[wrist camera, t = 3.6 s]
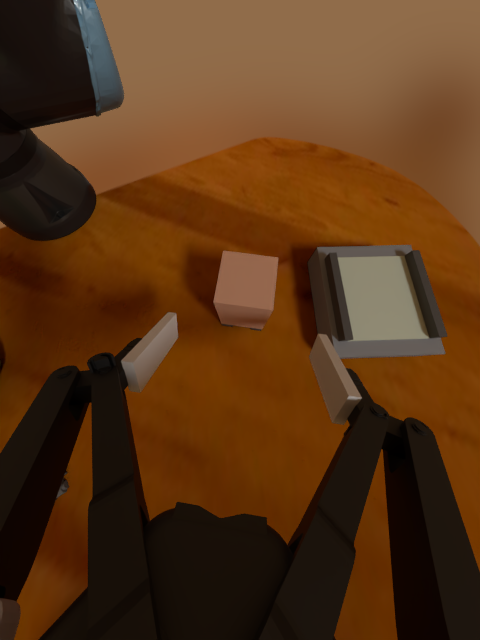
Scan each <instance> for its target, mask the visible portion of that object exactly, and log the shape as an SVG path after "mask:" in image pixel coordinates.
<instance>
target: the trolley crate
mask: <svg viewBox="0 0 480 640" xmlns="http://www.w3.org/2000/svg"><path fill="white" fill-rule="evenodd" d="M277 267H278V258H277V257H269V256H261V255H254V254H246V253H238V252H230V251H223V254H222V260H221V265H220V270H219V275H218V281H217V286H216V291H215V296H214V301H213V303H214V305H215V308H216V310H217V313H218V316H219V318H220V321H221V324H222V325H224V326H231V327H233V325H235V326H242V327H249V328H251V329H252V330H260V331H261V330H262V328H263V327H264V325H265V323H266V322H267V320H268V318H269V316H270V315H271V313H272V311H273V307H274V297H275V287H276V277H277Z"/></svg>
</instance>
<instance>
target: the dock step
mask: <svg viewBox="0 0 480 640" xmlns="http://www.w3.org/2000/svg"><path fill="white" fill-rule="evenodd" d="M307 263H308V270H309V277H310V284H311V291H312V297H313V304H314V311H315V318H316V325H317V332H318V334H325V335H327V336H328V338H329V340H330V342H331V343H332V345H333V347H334V349H335V351H336V352H337V354H338V356H339V358H340V359H342V358H372V357H401V356H423V355H437V354H445V351H444V348H443V344H442V341H441V338H440V337H447V333H446V330H445V327H444V324H443V321H442V318H441V315H440V312H439V309H438V306H437V303H436V300H435V297H434V294H433V291H432V288H431V285H430V282H429V279H428V276H427V273H426V270H425V267H424V264H423V261H422V257H421V254H420V251H419V250H416V251H412V248H411V245H389V246H348V247H317V248H316V250H315V252H314V253H313V255H312V256H311V258H310V259H309V261H308V262H307Z"/></svg>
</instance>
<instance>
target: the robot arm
mask: <svg viewBox="0 0 480 640" xmlns="http://www.w3.org/2000/svg"><path fill="white" fill-rule="evenodd" d="M123 99H124V91H123V86H122V82H121V79H120V76H119V72H118V69H117V66H116V62H115V59H114V56H113V53H112V50H111V47H110V44H109V40H108V37H107V34H106V31H105V28H104V25H103V22H102V19H101V16H100V13H99V10H98V7H97V5H96V2H95V0H0V221H1V222H2V223H3V224H5V225H6V226H7V227H9V228H10V229H12V230H14V231H15V232H17V233H19V234H20V235H22V236H24V237H26V238H29V239H32V240H53V239H57V238H61V237H63V236H66V235H68V234H70V233H72V232H74V231H75V230H77V229H78V228H80V227H81V226H82V225H83V224H84V223H85V222H86V221H87V220H88V219H89V217H90V216H91V214H92V212H93V210H94V208H95V204H96V194H95V191H94V189H93V187H92V185H91V184H90V183H89V182H88V180H87V179H86V178H85V177H84V175H83V174H82V173H81V172H80V171H78V170H77V169H76V168H75V167H74V166H72V165H70V164H68V163H67V162H65V161H64V160H63V159H62V158H61V157H60V156H59V155H58V154H57V153H55V152H54V151H53V150H52V149H51V148H49V147H48V146H47V145H46V144H44V143H43V142H42V141H41V140H40V139H38V138H37V136H36V135H35V134H34V133H33V132H32V131H31V130H30V128H35V127H40V126H44V125H50V124H54V123H60V122H65V121H69V120H74V119H79V118H84V117H89V116H94V115H96V116H99V115H101V113H103V112H106V111H110V110H113V109H116V108H118V107H120V106H121V104H122V102H123ZM177 338H178V328H177V315H176V313H171V312H168V313H167V314H166V315H165V316H164V317H163V318H162V319H161V320H160V321H159V322H158V323H157V324H156V325H155V326H154V327H153V328H152V329H151V330H150V331H149V332H148V333H147V335H146V336H145V337H144V338H143V339H142V338H136V339H135V340H133V341H131V342H130V343H129V344H128V345H127V346H126V347H125V348H124V349H123V350H122V351H121V352H120V353H118V354H117V355H116V356H115V357H114V356H113V354H111V353H100V354H97V355H95V356H93V357H91V358H90V359H89V360H88V362H87V365H88V367H89V369H90V370H88V371H79V370H78V368H77V367H76V366H65V367H62V368H59V369H57V370H56V371H54V372H53V373H52V374H51V375H50V376H49V378H48V379H47V381H46V382H45V384H44V385H43V387H42V389H41V390H40V392H39V393H38V395H37V397H36V398H35V400H34V401H33V403H32V404H31V406H30V408H29V409H28V411H27V412H26V414H25V416H24V417H23V419H22V420H21V422H20V423H19V425H18V427H17V428H16V430H15V431H14V433H13V434H12V436H11V438H10V439H9V441H8V442H7V444H6V446H5V447H4V449H3V450H2V452H1V453H0V640H13V639H14V637H15V634H16V630H17V627H18V624H19V619H20V614H21V613H20V606H19V604H18V603H17V599H18V597H19V595H20V592H21V590H22V588H23V586H24V584H25V582H26V580H27V577H28V575H29V573H30V570H31V568H32V565H33V563H34V560H35V557H36V555H37V552H38V549H39V547H40V544H41V541H42V538H43V535H44V532H45V529H46V526H47V523H48V521H49V518H50V515H51V512H52V509H53V506H54V503H55V500H56V497H57V495H58V492H59V489H60V486H61V483H62V480H63V477H64V474H65V471H66V469H67V466H68V463H69V460H70V457H71V454H72V451H73V448H74V446H75V443H76V440H77V437H78V434H79V431H80V428H81V425H82V422H83V420H84V417H85V414H86V411H87V408H88V405H89V403H90V402H92V469H93V497H92V500H91V501H90V503H89V508H88V587H87V588H86V589H85V590H84V592H83V593H82V594H81V595H80V596H79V597H78V598H77V599H76V600H75V601H74V602H73V603H72V604H71V605H70V607H69V608H68V609H67V610H66V611H65V612H64V613H63V614H62V615H61V616H60V617H59V618H58V619H57V620H56V621H55V623H54V624H53V625H52V626H51V627H50V628H49V629H48V630H47V631H46V632H45V633H44V634H43V635H42V636H41V637H40V639H39V640H336V639H335V637H334V633H335V630H336V626H337V622H338V619H339V615H340V611H341V608H342V604H343V601H344V597H345V593H346V590H347V586H348V582H349V579H350V575H351V571H352V568H353V564H354V560H355V553H356V550H355V548H354V540H355V536H356V533H357V530H358V526H359V523H360V519H361V516H362V513H363V509H364V506H365V502H366V499H367V496H368V492H369V489H370V485H371V482H372V479H373V475H374V472H375V468H376V465H377V462H378V458H379V455H380V452H381V449H383V457H384V471H385V484H386V498H387V511H388V524H389V538H390V551H391V565H392V578H393V592H394V605H395V619H396V628H397V637H398V640H480V572H479V569H478V566H477V563H476V560H475V557H474V554H473V551H472V548H471V545H470V542H469V539H468V536H467V533H466V530H465V527H464V524H463V521H462V517H461V514H460V511H459V508H458V505H457V502H456V499H455V496H454V493H453V490H452V487H451V484H450V481H449V478H448V475H447V472H446V469H445V466H444V463H443V460H442V457H441V454H440V451H439V448H438V445H437V442H436V439H435V436H434V434H433V432H432V431H431V430H430V429H429V427H428V426H426V425H425V424H424V423H422V422H421V421H419V420H417V419H414V418H406V419H405V420H404V421H401V420H399V419H396V418H394V417H391V416H389V414H388V412H387V411H386V410H385V409H384V408H382V407H381V406H380V405H378V404H376V403H374V402H373V400H372V399H371V397H370V395H369V394H368V392H367V390H366V389H365V387H364V386H363V384H362V382H361V381H360V379H359V377H358V376H357V374H356V373H355V372H354V371H353V370H351V369H348V368H345V367H344V365H343V363H342V361H341V360H340V358H339V356H338V354H337V352H336V351H335V349H334V347H333V345H332V343H331V342H330V340H329V338H328V336H327V335H325V334H318V335H317V338H316V340H315V343H314V345H313V348H312V350H311V353H310V355H309V358H310V361H311V364H312V366H313V369H314V372H315V375H316V378H317V381H318V384H319V387H320V389H321V392H322V395H323V398H324V401H325V404H326V407H327V410H328V412H329V415H330V418H331V421H332V423H337V424H343V425H344V423H345V422H346V420H347V419H348V422H349V424H350V426H349V427H348V429H347V430H346V431H345V433H344V437H343V439H342V441H341V443H340V445H339V447H338V449H337V451H336V453H335V455H334V457H333V459H332V461H331V463H330V465H329V467H328V469H327V471H326V473H325V475H324V477H323V479H322V481H321V482H320V484H319V486H318V488H317V490H316V492H315V494H314V496H313V498H312V500H311V502H310V504H309V506H308V508H307V510H306V512H305V514H304V516H303V518H302V520H301V522H300V524H299V526H298V528H297V529H296V531H295V532H294V534H293V536H292V538H291V539H290V541H289V543H288V545H287V544H286V542H285V541H284V540H283V538H282V537H281V536H280V535H279V534H278V533H277V532H276V531H275V530H274V529H273V528H271V527H270V526H268V525H267V518H266V517H260V516H255V515H249V514H240V515H235V516H230V517H225V518H219V517H217V516H215V515H213V514H212V513H210V512H208V511H207V510H205V509H203V508H202V507H200V506H198V505H192V504H187V503H181V502H177V503H176V507H175V508H173V509H170V510H167V511H164V512H163V513H161V514H159V515H157V516H156V517H155V518H153V519H152V520H151V521H150V520H149V515H148V510H147V506H146V502H145V498H144V493H143V488H142V482H141V477H140V471H139V466H138V460H137V455H136V449H135V444H134V439H133V433H132V428H131V422H130V417H129V411H128V406H127V400H126V395H125V391H124V390H125V388H126V387H127V386H128V387H129V390H130V391H134V392H141V391H142V390H143V388H144V387H145V385H146V384H147V382H148V381H149V379H150V378H151V376H152V375H153V373H154V372H155V371H156V369H157V368H158V366H159V365H160V363H161V362H162V360H163V359H164V357H165V356H166V354H167V353H168V351H169V350H170V349H171V347H172V346H173V344H174V343H175V341H176V340H177Z"/></svg>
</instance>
